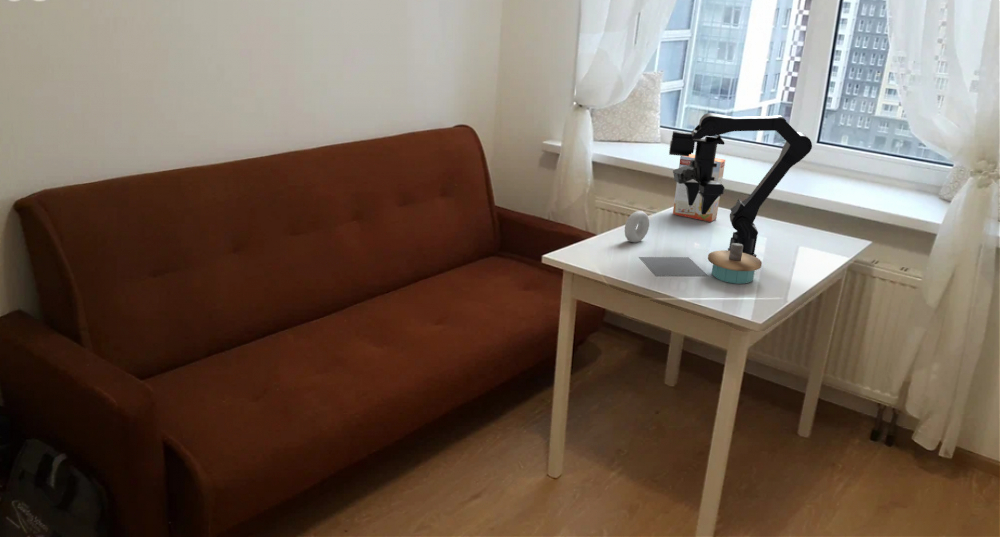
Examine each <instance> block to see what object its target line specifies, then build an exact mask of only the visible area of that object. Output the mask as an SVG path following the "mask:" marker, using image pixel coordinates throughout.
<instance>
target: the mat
mask: <svg viewBox="0 0 1000 537" xmlns="http://www.w3.org/2000/svg"><path fill="white" fill-rule="evenodd" d="M638 258H639V259H640V260H641V262H643V264H645V267H647V268H648V269H649V270H650V272H651V273H652V274H653V275H654V276H655V277H709V274H707V272H705V271H704V270H703V269H702V268H701V267H700V266H699V265H698V264H696V262H695V261H694V260H693V259H691V257H689V256H655V257H654V256H639V257H638Z"/></svg>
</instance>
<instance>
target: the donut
mask: <svg viewBox="0 0 1000 537" xmlns="http://www.w3.org/2000/svg"><path fill="white" fill-rule="evenodd" d="M649 227H650V219H649V215H648V214H647V213H646V212H644V211H643V210H636V211H634V212H632V213H631V214H630V215H629V216H628V217H627V219H626V222H625V226H624V236H625V238H626V240H627V241H628V242H631V243H639V242H641V241H642V240H643V239H644V238H645V237H646V236H647V233H648V232H649V230H650V229H649Z"/></svg>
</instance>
